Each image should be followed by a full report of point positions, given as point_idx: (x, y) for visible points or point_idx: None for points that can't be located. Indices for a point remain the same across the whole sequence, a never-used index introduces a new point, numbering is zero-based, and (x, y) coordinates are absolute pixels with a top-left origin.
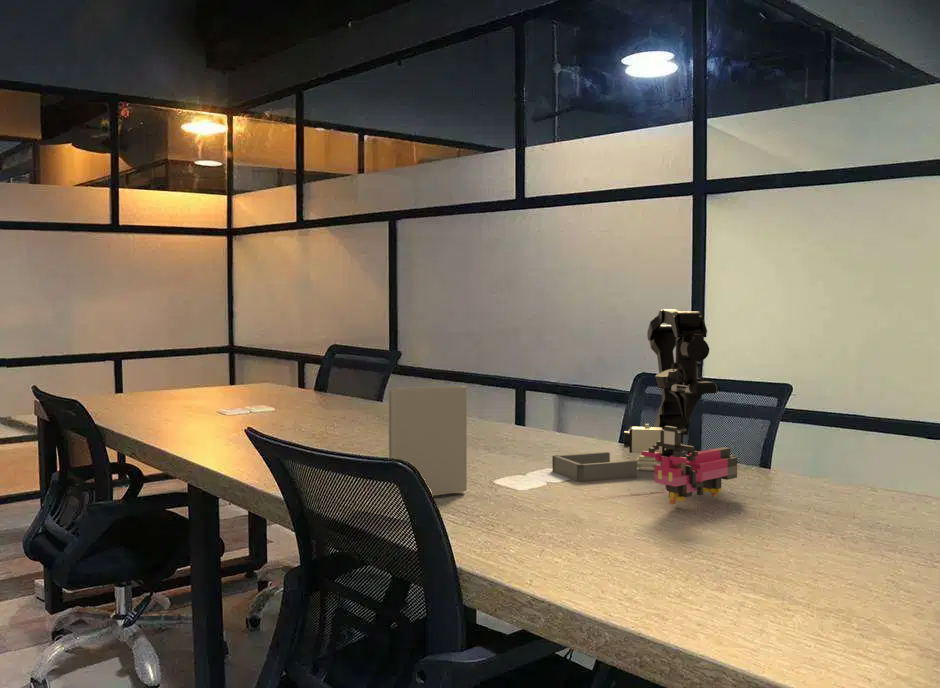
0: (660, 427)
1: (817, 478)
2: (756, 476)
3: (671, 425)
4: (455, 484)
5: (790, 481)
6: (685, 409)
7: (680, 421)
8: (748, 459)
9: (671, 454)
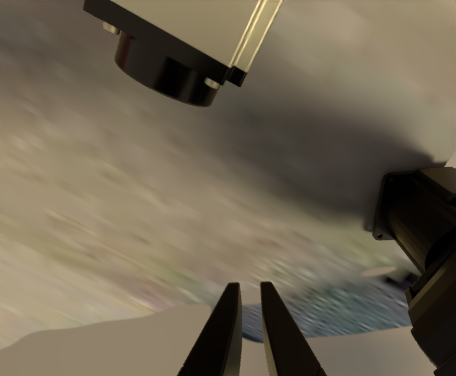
0: (229, 52)
1: (69, 326)
2: (89, 251)
3: (453, 262)
4: None
5: (35, 278)
6: (210, 335)
7: (433, 312)
8: None
9: (394, 196)
